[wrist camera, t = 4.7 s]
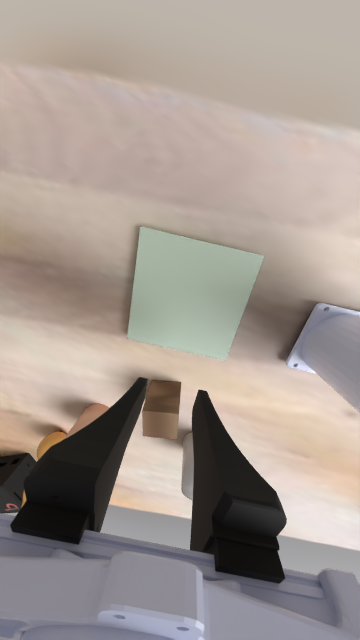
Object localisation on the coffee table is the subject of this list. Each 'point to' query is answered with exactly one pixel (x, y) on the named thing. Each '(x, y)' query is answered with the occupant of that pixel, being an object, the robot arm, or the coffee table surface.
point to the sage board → (189, 293)
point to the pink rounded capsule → (88, 417)
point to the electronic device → (13, 481)
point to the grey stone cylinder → (188, 466)
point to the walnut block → (162, 409)
